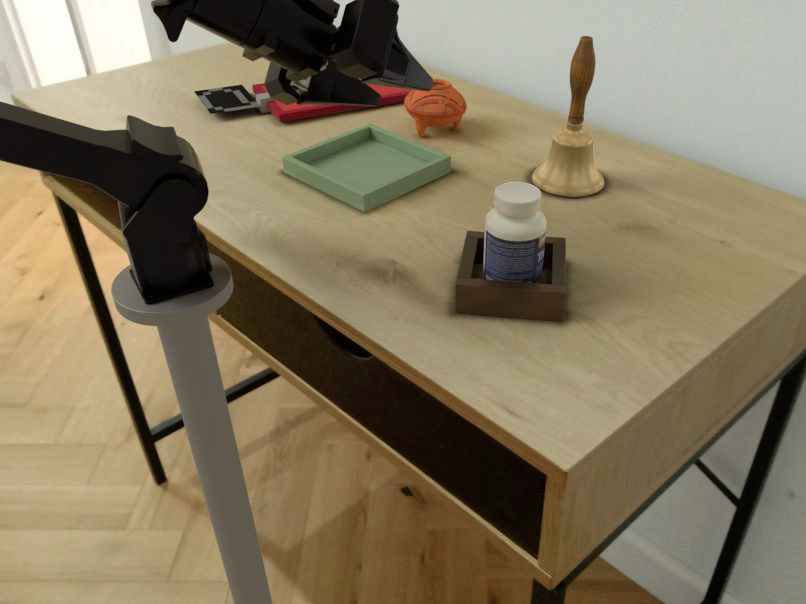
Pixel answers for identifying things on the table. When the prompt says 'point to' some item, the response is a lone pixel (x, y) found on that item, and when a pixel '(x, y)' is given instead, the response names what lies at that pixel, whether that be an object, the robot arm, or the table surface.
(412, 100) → the pot
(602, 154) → the table surface
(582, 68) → the hand bell
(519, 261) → the pill bottle
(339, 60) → the robot arm
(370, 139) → the tray
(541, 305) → the bottle holder
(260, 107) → the red board with handle
